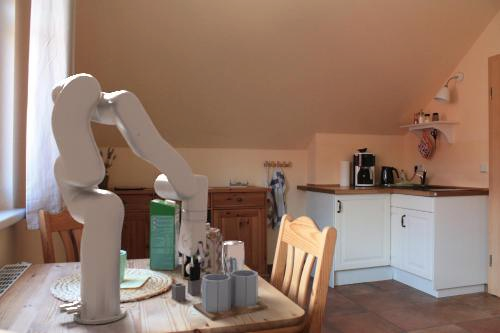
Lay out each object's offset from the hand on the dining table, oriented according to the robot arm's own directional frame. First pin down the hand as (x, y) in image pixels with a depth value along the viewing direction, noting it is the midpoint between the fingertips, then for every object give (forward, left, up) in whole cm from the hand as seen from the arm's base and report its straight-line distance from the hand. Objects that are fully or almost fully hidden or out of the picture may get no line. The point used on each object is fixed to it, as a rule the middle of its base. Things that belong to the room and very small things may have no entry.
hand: (191, 277), depth 125 cm
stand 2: (+1, 0, -5) cm, 5 cm away
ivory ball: (0, 0, +1) cm, 1 cm away
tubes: (+4, -16, -5) cm, 17 cm away
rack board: (+4, -16, -5) cm, 17 cm away
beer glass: (+11, -5, -5) cm, 13 cm away
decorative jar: (+12, +17, -5) cm, 21 cm away
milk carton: (+5, +35, -5) cm, 36 cm away
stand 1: (-5, -2, -5) cm, 7 cm away
